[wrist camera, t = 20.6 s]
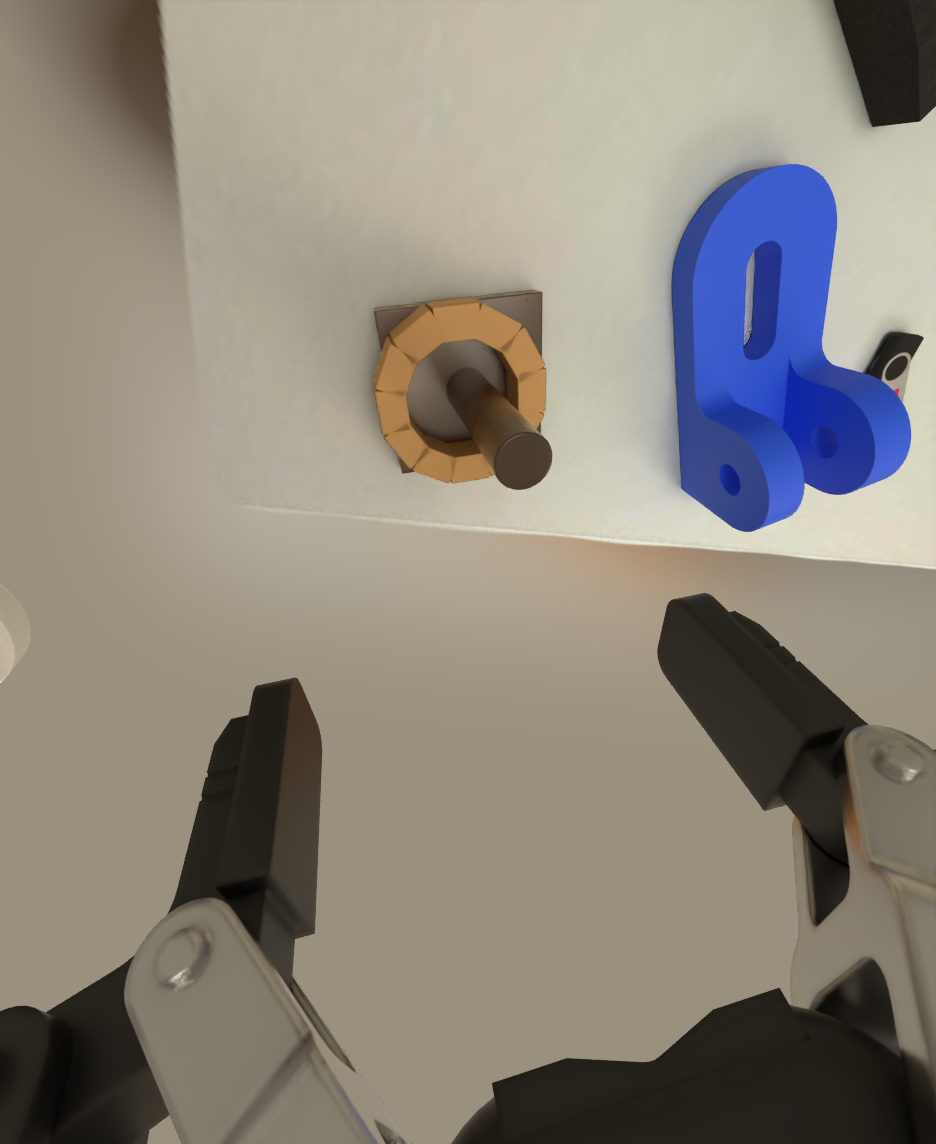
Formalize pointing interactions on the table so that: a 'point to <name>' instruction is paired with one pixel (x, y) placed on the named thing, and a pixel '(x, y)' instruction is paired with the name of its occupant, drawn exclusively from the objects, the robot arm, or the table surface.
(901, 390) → the usb flash drive
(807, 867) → the robot arm
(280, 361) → the table surface
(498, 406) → the brown peg stand
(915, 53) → the camera
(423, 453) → the orange segmented ring
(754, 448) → the bracket
